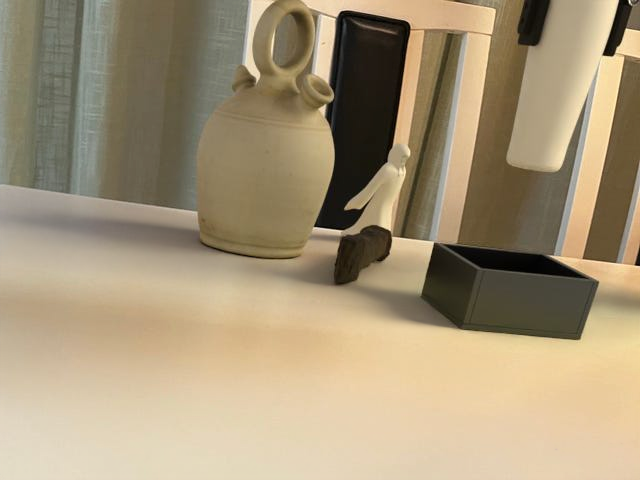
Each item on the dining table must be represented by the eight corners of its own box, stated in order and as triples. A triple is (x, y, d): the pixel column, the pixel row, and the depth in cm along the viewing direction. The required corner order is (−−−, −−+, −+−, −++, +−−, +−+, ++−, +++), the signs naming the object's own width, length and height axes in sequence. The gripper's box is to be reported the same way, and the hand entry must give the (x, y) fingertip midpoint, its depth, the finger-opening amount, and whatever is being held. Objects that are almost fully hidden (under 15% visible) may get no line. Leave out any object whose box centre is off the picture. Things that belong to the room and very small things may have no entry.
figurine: (369, 250, 125) (392, 144, 119) (321, 236, 130) (341, 133, 124) (405, 247, 130) (429, 145, 124) (358, 234, 135) (378, 135, 128)
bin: (528, 307, 107) (544, 253, 104) (580, 339, 97) (600, 281, 94) (420, 296, 106) (433, 241, 103) (461, 329, 95) (478, 269, 92)
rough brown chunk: (355, 256, 121) (364, 215, 118) (388, 263, 120) (397, 221, 117) (310, 282, 106) (318, 235, 103) (347, 289, 105) (356, 242, 102)
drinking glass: (539, 165, 102) (589, -10, 94) (582, 176, 96) (639, -8, 88) (483, 160, 99) (529, -20, 92) (523, 171, 94) (576, -19, 86)
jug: (339, 265, 115) (391, 9, 102) (216, 259, 110) (254, -12, 96) (281, 236, 127) (321, 3, 114) (167, 229, 121) (195, -16, 108)
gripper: (556, -223, 79) (491, 40, 88) (756, -188, 81) (672, 64, 91) (518, -207, 85) (461, 37, 95) (705, -175, 88) (631, 60, 97)
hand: (565, 48), depth 93 cm, fingers closed on drinking glass, 6 cm apart
